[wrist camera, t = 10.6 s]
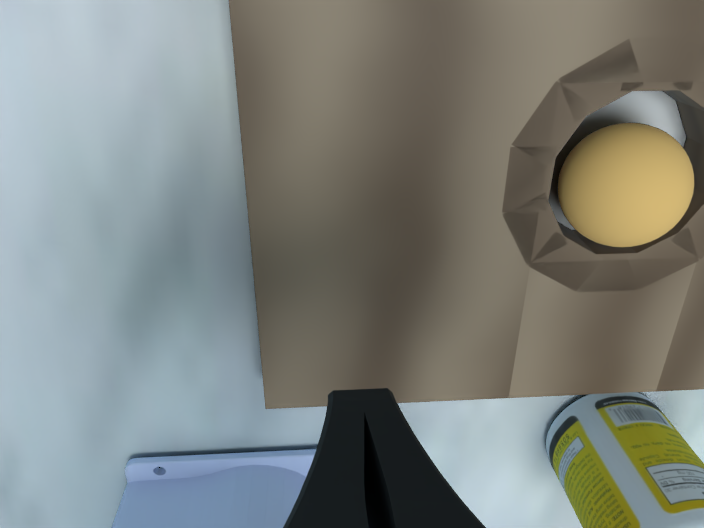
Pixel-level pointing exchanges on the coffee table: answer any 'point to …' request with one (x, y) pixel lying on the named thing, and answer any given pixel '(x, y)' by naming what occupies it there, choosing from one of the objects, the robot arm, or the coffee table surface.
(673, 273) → the wooden board with hole
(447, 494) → the robot arm
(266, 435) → the coffee table surface
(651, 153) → the ball
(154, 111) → the coffee table surface
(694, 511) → the supplement bottle
